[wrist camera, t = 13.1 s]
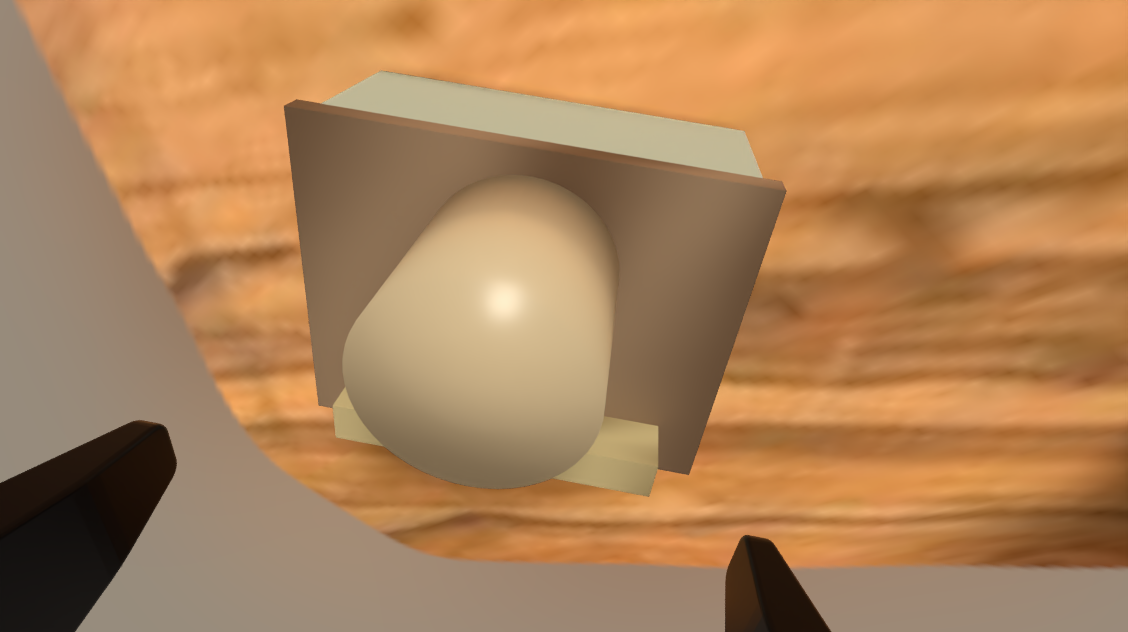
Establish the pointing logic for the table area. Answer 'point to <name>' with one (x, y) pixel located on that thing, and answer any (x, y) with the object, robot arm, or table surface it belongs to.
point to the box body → (552, 121)
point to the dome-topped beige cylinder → (491, 337)
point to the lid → (620, 198)
